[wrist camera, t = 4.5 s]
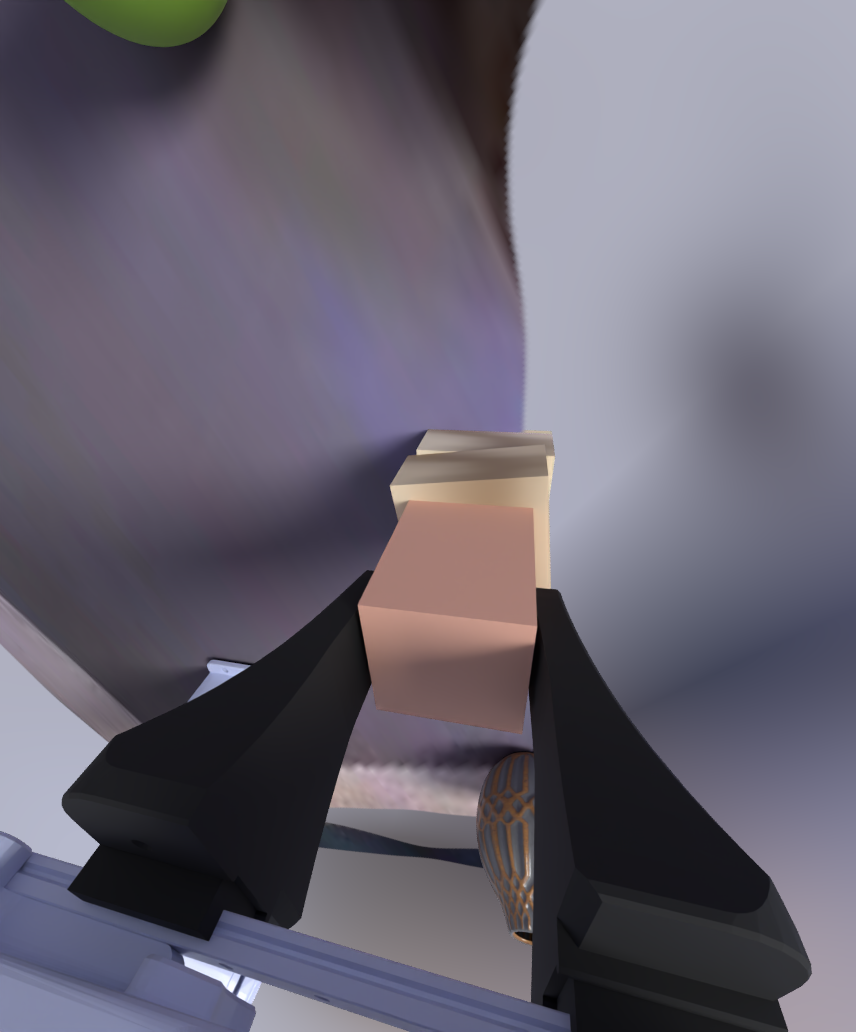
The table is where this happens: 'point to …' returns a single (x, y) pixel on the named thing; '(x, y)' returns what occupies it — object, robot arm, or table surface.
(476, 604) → the block
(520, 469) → the tower top
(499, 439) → the tower base
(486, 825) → the vase
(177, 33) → the snail figurine
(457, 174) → the table surface
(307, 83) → the table surface
